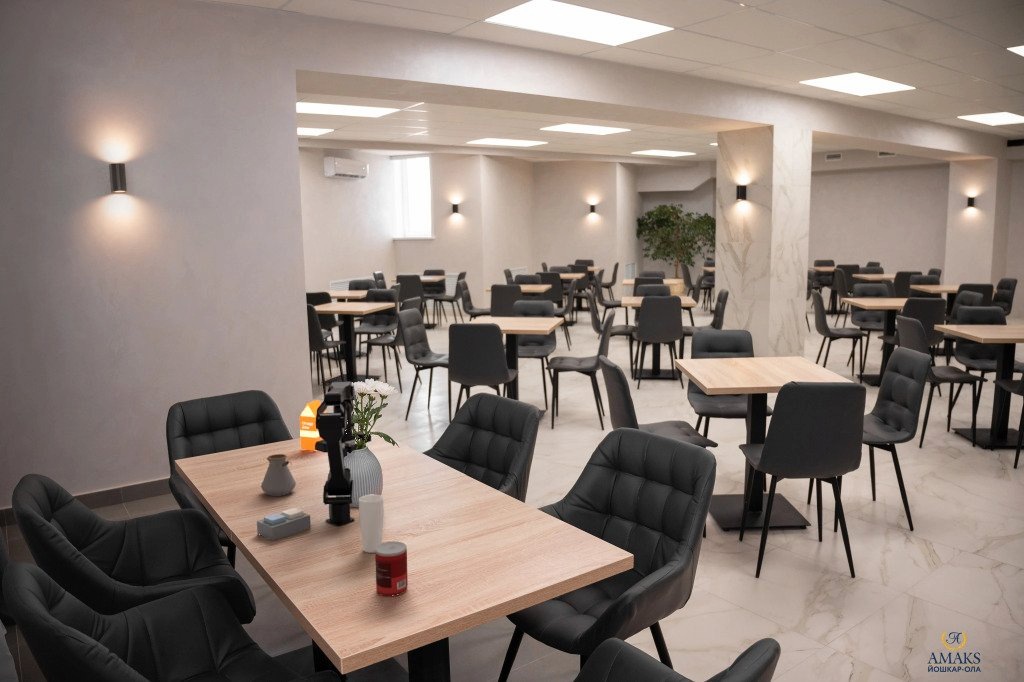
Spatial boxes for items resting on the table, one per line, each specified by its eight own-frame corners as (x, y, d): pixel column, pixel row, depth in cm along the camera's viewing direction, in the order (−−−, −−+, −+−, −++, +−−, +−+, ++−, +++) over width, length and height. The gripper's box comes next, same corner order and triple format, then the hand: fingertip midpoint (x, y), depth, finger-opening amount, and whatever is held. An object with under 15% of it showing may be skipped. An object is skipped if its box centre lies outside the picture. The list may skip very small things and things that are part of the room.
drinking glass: (379, 555, 208) (377, 503, 206) (356, 553, 209) (354, 501, 207) (388, 546, 215) (386, 494, 213) (365, 544, 216) (364, 493, 214)
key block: (310, 527, 229) (310, 515, 228) (272, 540, 219) (272, 527, 218) (295, 521, 234) (294, 509, 233) (257, 534, 224) (256, 521, 223)
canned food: (409, 582, 192) (408, 540, 190) (405, 596, 184) (404, 553, 182) (378, 582, 191) (377, 541, 190) (374, 597, 183) (372, 554, 182)
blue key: (286, 529, 224) (285, 516, 224) (273, 533, 221) (272, 520, 220) (277, 525, 227) (277, 513, 226) (264, 530, 224) (263, 517, 223)
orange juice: (300, 450, 315) (298, 403, 312) (312, 445, 323) (310, 399, 321) (316, 451, 312) (315, 404, 310) (328, 446, 321) (326, 400, 318)
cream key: (303, 523, 229) (302, 511, 228) (290, 527, 225) (290, 515, 225) (294, 520, 231) (294, 507, 231) (282, 524, 228) (281, 511, 228)
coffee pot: (258, 491, 263) (256, 449, 261) (291, 485, 269) (289, 444, 267) (272, 509, 245) (270, 464, 243) (307, 503, 251) (306, 459, 249)
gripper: (350, 411, 256) (351, 456, 258) (303, 421, 242) (305, 469, 244) (371, 416, 249) (373, 462, 251) (324, 427, 235) (326, 475, 237)
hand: (344, 467), depth 246 cm, fingers closed
